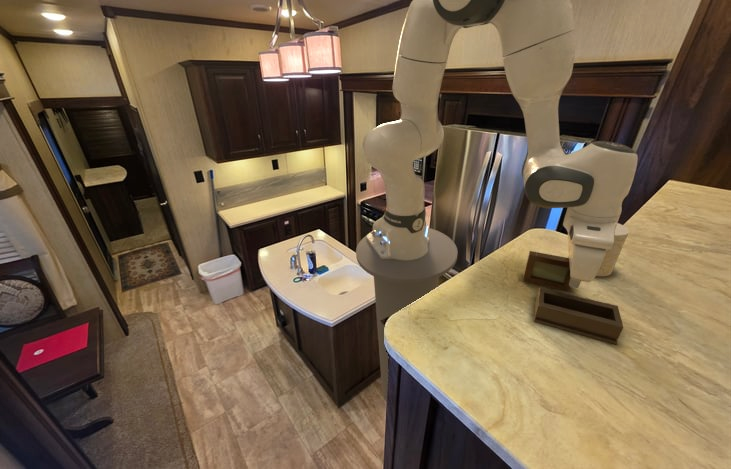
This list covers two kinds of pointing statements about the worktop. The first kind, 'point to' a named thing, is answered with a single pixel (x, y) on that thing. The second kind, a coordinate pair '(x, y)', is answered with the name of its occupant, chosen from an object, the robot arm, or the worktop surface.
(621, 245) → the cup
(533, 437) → the worktop surface
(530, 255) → the frame
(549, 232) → the worktop surface
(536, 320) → the holder
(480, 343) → the worktop surface
